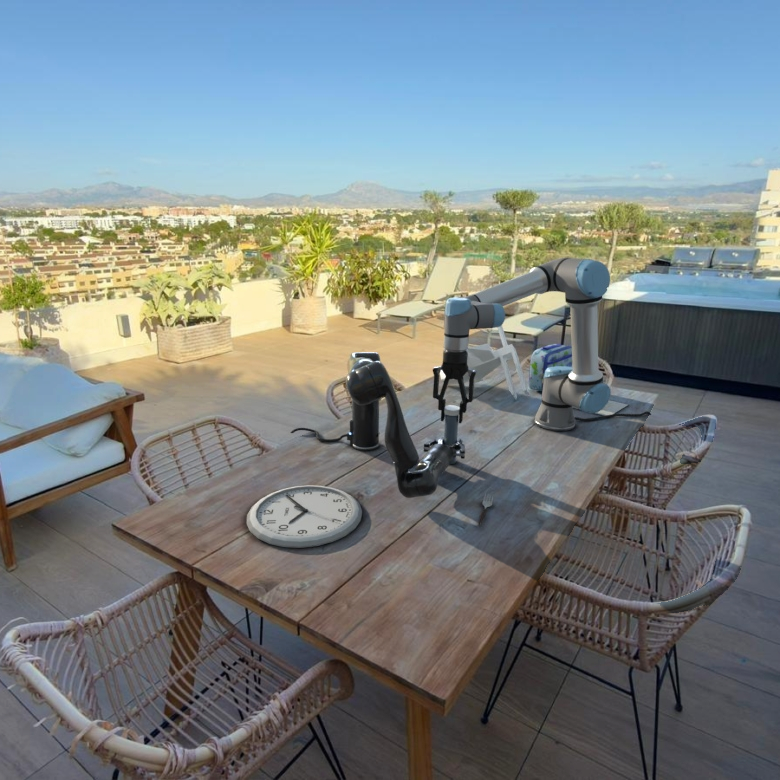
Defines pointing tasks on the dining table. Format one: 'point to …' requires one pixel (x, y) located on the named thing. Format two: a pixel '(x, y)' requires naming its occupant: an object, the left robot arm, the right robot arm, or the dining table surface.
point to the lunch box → (547, 362)
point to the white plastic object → (492, 363)
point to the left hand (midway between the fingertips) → (452, 440)
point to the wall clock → (304, 516)
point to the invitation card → (611, 408)
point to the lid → (451, 410)
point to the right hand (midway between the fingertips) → (451, 420)
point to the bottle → (451, 431)
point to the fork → (485, 504)
